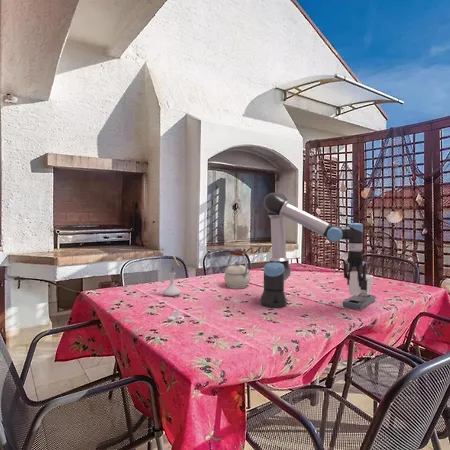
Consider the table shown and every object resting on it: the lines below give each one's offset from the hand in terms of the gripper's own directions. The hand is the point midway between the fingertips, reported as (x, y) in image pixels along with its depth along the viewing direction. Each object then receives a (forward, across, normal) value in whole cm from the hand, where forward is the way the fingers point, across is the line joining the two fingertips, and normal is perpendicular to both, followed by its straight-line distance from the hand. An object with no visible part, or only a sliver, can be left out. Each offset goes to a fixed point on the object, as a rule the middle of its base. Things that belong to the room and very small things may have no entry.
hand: (354, 291), depth 190 cm
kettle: (+9, -82, -5) cm, 83 cm away
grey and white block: (+9, 0, +9) cm, 13 cm away
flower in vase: (+9, -97, -51) cm, 110 cm away
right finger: (+2, 0, 0) cm, 2 cm away
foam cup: (+9, -4, +30) cm, 32 cm away
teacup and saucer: (+9, -63, -81) cm, 103 cm away
